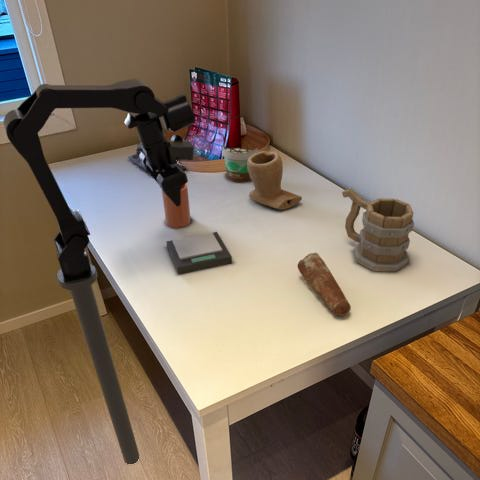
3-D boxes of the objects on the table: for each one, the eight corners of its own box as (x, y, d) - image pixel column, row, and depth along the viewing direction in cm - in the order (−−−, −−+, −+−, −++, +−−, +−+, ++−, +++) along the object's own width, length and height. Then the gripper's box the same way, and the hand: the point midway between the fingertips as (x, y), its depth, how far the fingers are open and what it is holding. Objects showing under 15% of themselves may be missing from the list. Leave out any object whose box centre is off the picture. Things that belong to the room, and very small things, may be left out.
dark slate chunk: (146, 181, 161) (144, 167, 157) (126, 158, 175) (124, 145, 172) (189, 171, 166) (187, 157, 163) (166, 149, 181) (164, 136, 177)
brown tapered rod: (319, 268, 121) (321, 249, 117) (353, 316, 107) (357, 296, 103) (295, 273, 119) (296, 254, 116) (327, 322, 105) (330, 302, 102)
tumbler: (169, 229, 137) (164, 193, 129) (164, 218, 142) (159, 182, 134) (193, 225, 138) (189, 189, 131) (187, 213, 143) (183, 178, 136)
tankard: (416, 258, 123) (429, 204, 113) (385, 278, 117) (397, 223, 107) (353, 228, 135) (361, 177, 125) (323, 245, 129) (328, 193, 119)
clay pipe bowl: (239, 201, 148) (238, 153, 138) (265, 188, 154) (266, 142, 145) (276, 218, 140) (278, 168, 130) (302, 204, 146) (306, 155, 136)
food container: (217, 181, 159) (216, 151, 153) (223, 173, 164) (222, 144, 157) (254, 185, 156) (253, 155, 150) (259, 177, 161) (259, 147, 154)
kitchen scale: (178, 274, 120) (177, 265, 118) (167, 247, 130) (165, 239, 128) (231, 263, 123) (231, 254, 122) (217, 237, 133) (216, 229, 131)
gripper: (199, 139, 106) (215, 201, 117) (171, 114, 119) (188, 172, 130) (152, 158, 104) (173, 219, 115) (129, 131, 117) (150, 187, 128)
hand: (172, 197), depth 122 cm, fingers open, 9 cm apart
